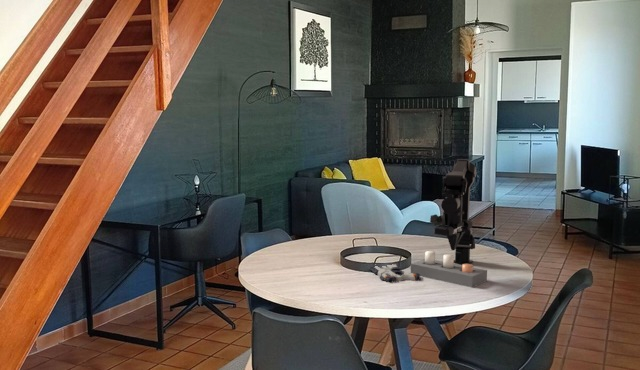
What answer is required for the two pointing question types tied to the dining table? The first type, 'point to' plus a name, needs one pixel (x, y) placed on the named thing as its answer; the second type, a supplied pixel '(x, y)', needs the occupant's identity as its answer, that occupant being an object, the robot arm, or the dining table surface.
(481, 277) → the socket board
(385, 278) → the toy gun
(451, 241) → the robot arm
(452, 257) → the plug white mid
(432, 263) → the plug white near
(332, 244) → the dining table surface
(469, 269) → the plug terracotta
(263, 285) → the dining table surface
